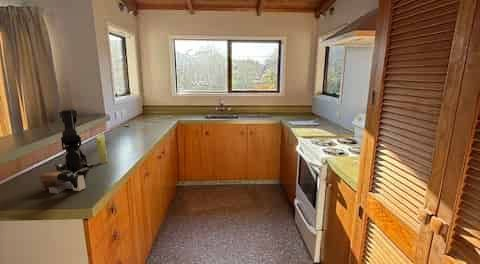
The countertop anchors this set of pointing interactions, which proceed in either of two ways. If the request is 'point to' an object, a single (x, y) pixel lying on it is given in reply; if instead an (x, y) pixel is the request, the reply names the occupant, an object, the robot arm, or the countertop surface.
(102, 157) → the tube
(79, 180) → the cube on a stick
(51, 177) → the brown wooden slab
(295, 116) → the countertop surface
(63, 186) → the token
